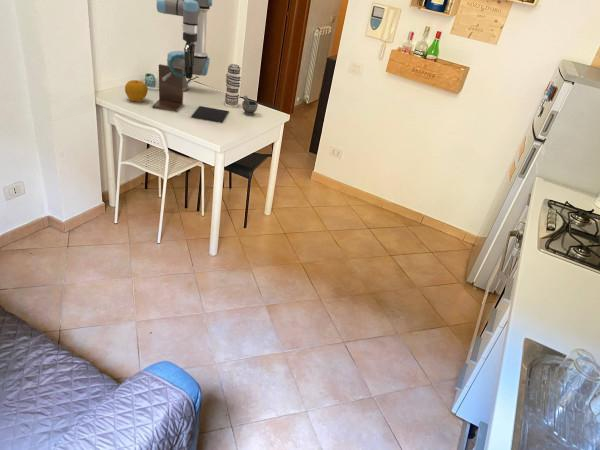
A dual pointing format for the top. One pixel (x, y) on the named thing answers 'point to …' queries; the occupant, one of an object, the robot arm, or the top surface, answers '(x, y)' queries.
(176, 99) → the hook board
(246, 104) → the mortar and pestle
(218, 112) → the mat
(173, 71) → the ring
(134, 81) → the apple
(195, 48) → the robot arm
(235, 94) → the decorative candle
